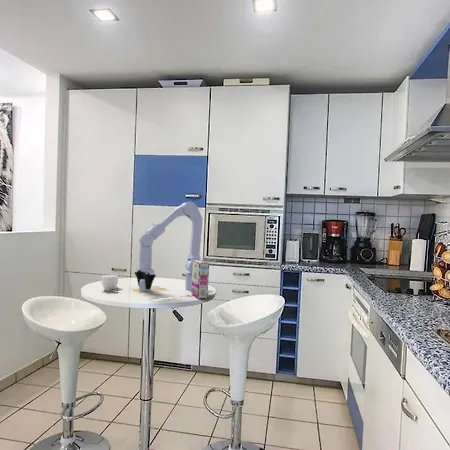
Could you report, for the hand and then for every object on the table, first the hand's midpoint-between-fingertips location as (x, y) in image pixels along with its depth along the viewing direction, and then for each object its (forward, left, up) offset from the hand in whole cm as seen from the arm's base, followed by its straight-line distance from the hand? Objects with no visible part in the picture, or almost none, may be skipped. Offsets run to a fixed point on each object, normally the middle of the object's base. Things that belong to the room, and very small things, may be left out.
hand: (144, 287), depth 186 cm
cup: (+14, +11, -2) cm, 18 cm away
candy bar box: (-20, -18, -2) cm, 27 cm away
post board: (+1, -3, -2) cm, 4 cm away
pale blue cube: (0, 0, -1) cm, 1 cm away
